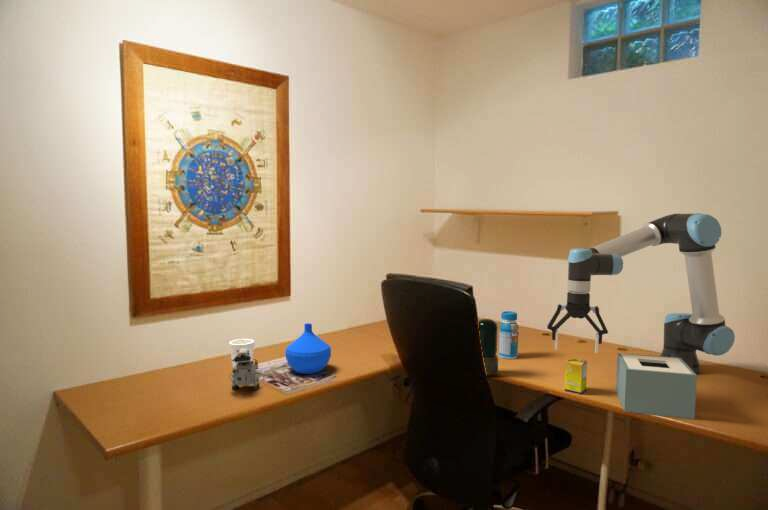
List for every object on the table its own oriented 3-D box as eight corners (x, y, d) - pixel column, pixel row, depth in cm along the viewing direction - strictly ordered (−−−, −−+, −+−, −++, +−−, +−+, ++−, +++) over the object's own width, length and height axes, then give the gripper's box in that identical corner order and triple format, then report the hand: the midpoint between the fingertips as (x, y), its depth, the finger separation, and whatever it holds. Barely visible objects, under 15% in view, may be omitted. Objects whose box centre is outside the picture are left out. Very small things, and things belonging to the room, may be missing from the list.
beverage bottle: (498, 358, 224) (499, 313, 223) (498, 353, 232) (499, 310, 231) (518, 360, 222) (519, 314, 221) (517, 354, 230) (519, 311, 229)
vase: (337, 365, 213) (337, 320, 212) (320, 379, 196) (320, 330, 194) (297, 362, 218) (297, 318, 217) (277, 375, 201) (276, 327, 199)
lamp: (502, 373, 204) (503, 319, 202) (490, 379, 197) (491, 322, 195) (481, 368, 210) (482, 315, 209) (469, 373, 203) (469, 319, 201)
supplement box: (569, 386, 189) (570, 357, 188) (586, 390, 185) (587, 360, 184) (564, 391, 184) (565, 361, 183) (581, 394, 180) (582, 364, 179)
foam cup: (229, 378, 197) (228, 345, 196) (230, 371, 206) (229, 339, 205) (255, 376, 199) (254, 343, 198) (254, 369, 208) (253, 338, 207)
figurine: (226, 395, 179) (224, 353, 177) (237, 384, 190) (236, 345, 189) (251, 396, 178) (250, 354, 177) (261, 385, 189) (260, 345, 188)
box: (678, 397, 178) (680, 357, 177) (694, 419, 159) (696, 375, 158) (616, 390, 184) (617, 352, 183) (624, 411, 165) (626, 369, 164)
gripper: (615, 292, 181) (612, 351, 183) (541, 288, 189) (539, 344, 190) (618, 295, 174) (615, 356, 176) (541, 291, 181) (539, 350, 183)
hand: (576, 350), depth 183 cm, fingers open, 13 cm apart
